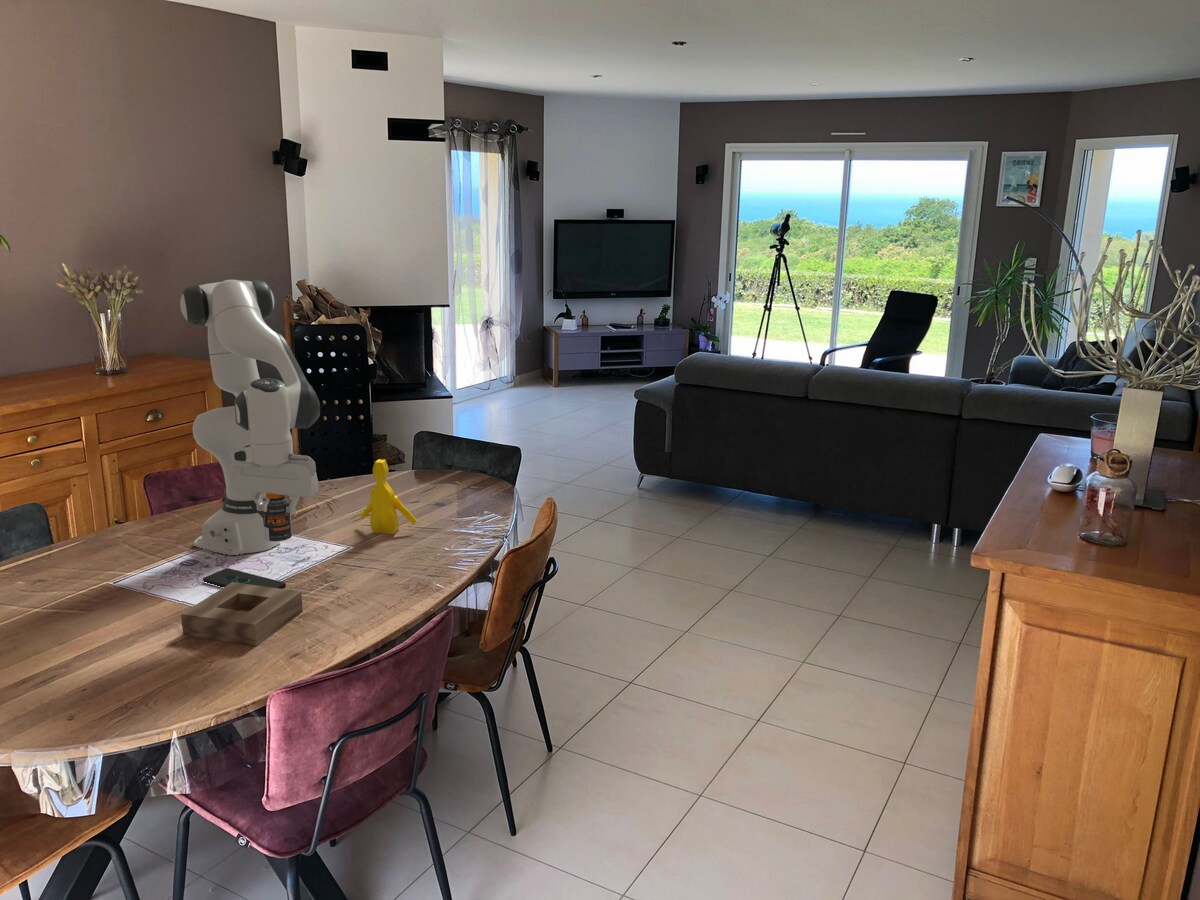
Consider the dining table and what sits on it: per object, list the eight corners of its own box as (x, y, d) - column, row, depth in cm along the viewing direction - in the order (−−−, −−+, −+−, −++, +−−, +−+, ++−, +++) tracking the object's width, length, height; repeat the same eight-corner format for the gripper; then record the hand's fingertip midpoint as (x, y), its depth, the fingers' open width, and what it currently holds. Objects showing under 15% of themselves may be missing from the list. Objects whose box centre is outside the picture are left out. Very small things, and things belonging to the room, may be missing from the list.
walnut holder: (183, 635, 199) (180, 613, 198) (234, 601, 216) (232, 582, 215) (256, 646, 195) (254, 624, 194) (302, 611, 212) (301, 591, 211)
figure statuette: (420, 530, 266) (418, 457, 260) (409, 539, 259) (407, 464, 253) (363, 524, 269) (360, 452, 264) (351, 533, 262) (347, 459, 256)
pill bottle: (267, 544, 205) (263, 495, 202) (262, 535, 210) (258, 488, 207) (294, 539, 208) (291, 492, 205) (289, 532, 213) (286, 485, 210)
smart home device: (227, 566, 233) (287, 582, 225) (227, 573, 234) (287, 588, 225) (200, 578, 226) (261, 594, 218) (201, 584, 226) (262, 600, 218)
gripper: (322, 452, 205) (325, 511, 208) (240, 445, 209) (245, 503, 213) (307, 459, 199) (310, 520, 202) (223, 452, 203) (228, 512, 207)
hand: (276, 511), depth 208 cm, fingers closed on pill bottle, 6 cm apart
